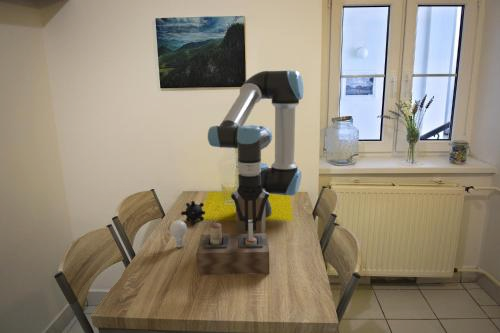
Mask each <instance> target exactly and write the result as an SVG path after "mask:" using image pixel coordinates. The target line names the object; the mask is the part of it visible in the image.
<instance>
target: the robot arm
mask: <svg viewBox="0 0 500 333" xmlns="http://www.w3.org/2000/svg"><path fill="white" fill-rule="evenodd" d="M301 75H302V74H301V73H300V72H298V71H297V70H270V71H269V70H264V71H260V72H257V73H255V74H254V75H252V76H250V77H249V78H248V79H246V81H244V82H243V84H242V85H241V87H240V88H239V95H238V97H237V98H236V99H235V100H234V102H233V104H232V106H231V107H230V109H229V110H228V112H227V113H226V115H225V116H224V118H223V120H222V121H221V123H220V124H219V125H213V126H210V127H209V128H208V131H207V141H208V144H209V145H210V146H211V147H215V148H220V149H221V148H226V149H237V168H238V169H237V170H238V171H237V172H238V175H237V176H238V178H237V179H238V180H237V181H238V187H237V190H236V191H234V192H231V194H230V197H231V199H232V200H233V203H234V206H235V210H236V209H237V213H238V216H239V220H240V221H244V222H245V230H246V231H249V241H253V231H256V222H257V221H261V219H262V215H263V211H264V207H265V204H266V218H267V217H269V216H271V215H272V210H273V209H272V206H271V202H270V200H269V198H270V194H272V195H280V196H295V195H297V193H298V191H299V189H300V185H301V180H302V170H300V169H298V167H299V166H298V164H297V163H296V162H295V138H296V136H295V135H296V107H297V106H298V105H299V104H300V100H302V99H303V97H304V84H303V83H304V82H303V79H302V76H301ZM264 99H265V100H267V99H268V100H271V105H273V107H274V162H272V164H271V167H269V166H268V164H267V163H263V162H262V150H264V149H265V148H267V147H268V146H269V144H271V142H272V139H273V133H272V132H271V129H269V127H267V126H264V125H260V126H258V125H253V124H250V125H249V124H248V125H245V123H246V121H247V120H248V118H249V117H250V114H251V112H252V111H253V109H254V107H255V106H256V104H257V103H259V102H260V101H261V100H264ZM263 189H265V191H264V190H263ZM261 193H262V201H261V205H260V209H259V213H258V216H256V200H257V199H258V197H259V196H260V195H261ZM238 194H239V195H240V196H241V197H242V198H243V200H244V201H245V217H244V216H243V214H242V211H241V207H240V203H239V200H238ZM250 200H251V201H252V217H253V220H248V201H250Z"/></svg>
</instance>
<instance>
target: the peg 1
mask: <svg viewBox="0 0 500 333" xmlns="http://www.w3.org/2000/svg"><path fill="white" fill-rule="evenodd" d="M209 234H210V245H222V234H223V233H222V224H221V223H220V222H212V223H210V224H209Z"/></svg>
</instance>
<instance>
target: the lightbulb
mask: <svg viewBox="0 0 500 333" xmlns="http://www.w3.org/2000/svg"><path fill="white" fill-rule="evenodd" d="M169 232H170V234H171V236H173V238H174V240H175V247H176V248H179V249H181V248H182V247H184V237H185V235H186V233H187V232H188V226H187V224H186V222H184V221H183V220H181V219H177V220H174V221H172V223H171V224H170V226H169Z"/></svg>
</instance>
